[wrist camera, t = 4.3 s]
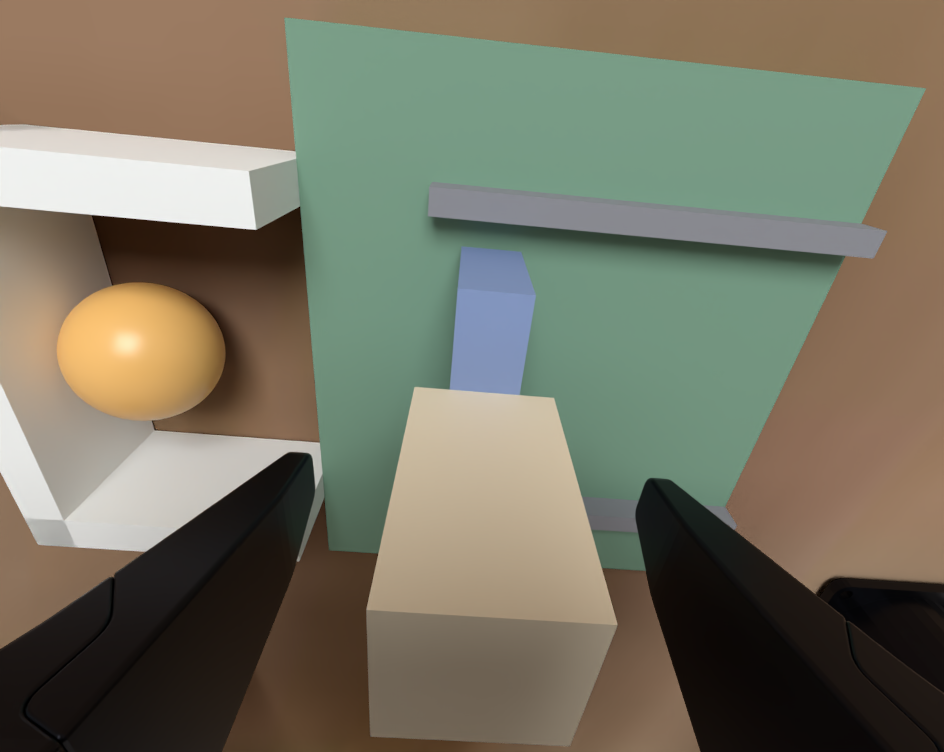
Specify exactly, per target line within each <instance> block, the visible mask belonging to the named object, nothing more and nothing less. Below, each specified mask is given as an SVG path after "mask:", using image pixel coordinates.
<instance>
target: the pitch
mask: <svg viewBox="0 0 944 752" xmlns="http://www.w3.org/2000/svg"><path fill="white" fill-rule="evenodd" d="M284 19H285V31H286V43H287V55H288V67H289V79H290V91H291V103H292V114H293V126H294V138H295V150H296V162H297V174H298V186H299V198H300V210H301V222H302V234H303V246H304V258H305V270H306V282H307V294H308V306H309V318H310V330H311V342H312V353H313V365H314V377H315V389H316V401H317V413H318V425H319V437H320V449H321V461H322V473H323V485H324V497H325V509H326V521H327V533H328V545H329V550H332V551H348V552H363V553H379V549H380V544H381V540H382V535H383V530H384V526H385V521H386V516H387V512H388V507H389V503H390V498H391V493H392V489H393V484H394V479H395V475H396V470H397V466H398V461H399V456H400V452H401V447H402V442H403V438H404V433H405V429H406V424H407V419H408V415H409V410H410V405H411V401H412V396H413V392H414V387H423V388H436V389H448V390H450V380H451V367H452V355H453V342H454V329H455V317H456V304H457V291H458V280H459V269H460V258H461V247H462V246H463V247H474V248H485V249H496V250H507V251H518V252H521V253H522V256H523V259H524V262H525V265H526V267H527V270H528V273H529V276H530V279H531V282H532V285H533V288H534V291H535V294H536V298H535V304H534V310H533V316H532V322H531V328H530V334H529V340H528V347H527V353H526V359H525V365H524V371H523V377H522V383H521V389H520V395H524V396H536V397H549V398H554V400H555V403H556V407H557V410H558V414H559V417H560V421H561V424H562V428H563V432H564V435H565V439H566V442H567V446H568V449H569V453H570V457H571V460H572V464H573V467H574V471H575V474H576V478H577V482H578V485H579V489H580V492H581V496H582V499H583V503H584V507H585V510H586V514H587V517H588V521H589V524H590V528H591V531H592V535H593V539H594V542H595V546H596V549H597V553H598V556H599V560H600V564H601V567H602V568H610V569H625V570H641V571H646V570H645V565H644V560H643V555H642V550H641V545H640V540H639V535H638V530H637V525H636V520H635V511H636V506H637V504H638V501H639V498H640V495H641V492H642V490H643V487H644V484H645V482H646V481H647V479H649V478H664V479H670V480H671V481H673V482H674V483H676V484H677V485H678V486H679V487H681V488H682V489H683V490H684V491H686V492H687V493H688V494H689V495H691V496H692V497H693V498H694V499H696V500H697V501H698V502H699V503H701V504H702V505H703V506H705V507H706V508H707V509H708V510H710V511H711V512H712V513H713V514H715V515H716V516H717V517H718V518H720V519H721V520H722V521H723V522H725V523H726V524H727V525H729V526H730V527H731V528H732V529H734V530H735V528H736V526H737V525H736V523H735V522H734V520H733V519H732V517H731V515H730V514H729V512H728V511H727V509H726V508H725V506H726V504H727V501H728V499H729V497H730V495H731V493H732V491H733V489H734V487H735V485H736V483H737V481H738V479H739V476H740V474H741V472H742V470H743V468H744V466H745V464H746V462H747V460H748V458H749V456H750V454H751V452H752V449H753V447H754V445H755V443H756V441H757V439H758V437H759V435H760V433H761V431H762V429H763V427H764V424H765V422H766V420H767V418H768V416H769V414H770V412H771V410H772V408H773V406H774V404H775V402H776V400H777V397H778V395H779V393H780V391H781V389H782V387H783V385H784V383H785V381H786V379H787V377H788V375H789V372H790V370H791V368H792V366H793V364H794V362H795V360H796V358H797V356H798V354H799V352H800V350H801V347H802V345H803V343H804V341H805V339H806V337H807V335H808V333H809V331H810V329H811V327H812V325H813V323H814V320H815V318H816V316H817V314H818V312H819V310H820V308H821V306H822V304H823V302H824V300H825V298H826V295H827V293H828V291H829V289H830V287H831V285H832V283H833V281H834V279H835V277H836V275H837V273H838V271H839V268H840V266H841V264H842V262H843V260H844V258H845V256H853V257H864V258H874V256H875V254H876V252H877V250H878V248H879V247H880V245H881V243H882V241H883V239H884V237H885V235H886V233H887V231H885V230H881V229H878V228H874V227H871V226H868V225H864V224H861V223H862V221H863V218H864V216H865V214H866V212H867V210H868V208H869V206H870V204H871V202H872V200H873V198H874V196H875V194H876V191H877V189H878V187H879V185H880V183H881V181H882V179H883V177H884V175H885V173H886V171H887V169H888V166H889V164H890V162H891V160H892V158H893V156H894V154H895V152H896V150H897V148H898V146H899V144H900V142H901V139H902V137H903V135H904V133H905V131H906V129H907V127H908V125H909V123H910V121H911V119H912V117H913V114H914V112H915V110H916V108H917V106H918V104H919V102H920V100H921V98H922V96H923V94H924V92H925V89H926V88H917V87H908V86H899V85H889V84H880V83H871V82H862V81H853V80H844V79H835V78H826V77H817V76H808V75H799V74H790V73H781V72H772V71H763V70H754V69H745V68H736V67H727V66H718V65H709V64H700V63H691V62H682V61H673V60H664V59H655V58H645V57H636V56H627V55H618V54H609V53H600V52H591V51H582V50H573V49H564V48H555V47H546V46H537V45H528V44H519V43H510V42H501V41H492V40H483V39H474V38H465V37H456V36H447V35H438V34H429V33H420V32H411V31H401V30H392V29H383V28H374V27H365V26H356V25H347V24H338V23H329V22H320V21H311V20H302V19H293V18H284Z"/></svg>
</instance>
